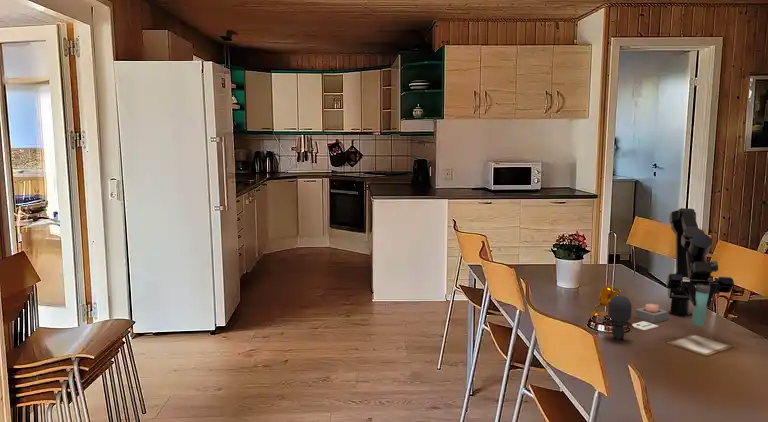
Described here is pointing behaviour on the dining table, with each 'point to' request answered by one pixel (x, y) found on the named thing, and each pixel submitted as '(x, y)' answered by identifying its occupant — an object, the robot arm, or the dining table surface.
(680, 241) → the robot arm
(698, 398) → the dining table surface
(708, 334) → the dining table surface
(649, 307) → the button
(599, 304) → the figurine
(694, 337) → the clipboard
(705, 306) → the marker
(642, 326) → the card
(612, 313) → the toy
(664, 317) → the button box
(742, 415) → the dining table surface
